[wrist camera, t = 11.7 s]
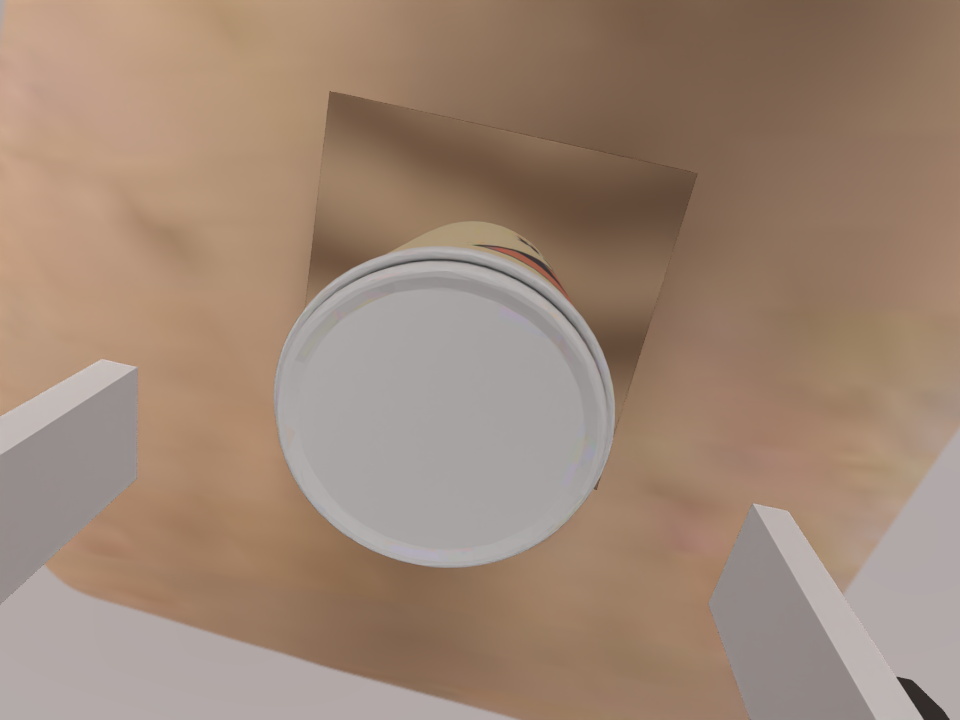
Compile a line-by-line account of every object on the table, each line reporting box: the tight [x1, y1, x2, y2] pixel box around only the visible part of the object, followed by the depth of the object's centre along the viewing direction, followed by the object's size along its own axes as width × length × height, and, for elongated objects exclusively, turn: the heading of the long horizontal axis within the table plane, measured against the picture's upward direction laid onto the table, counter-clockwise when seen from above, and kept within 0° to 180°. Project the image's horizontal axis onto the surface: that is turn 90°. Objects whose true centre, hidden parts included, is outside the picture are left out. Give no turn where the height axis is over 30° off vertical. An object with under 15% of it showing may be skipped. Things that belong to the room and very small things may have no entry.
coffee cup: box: [274, 221, 615, 568], centre depth 22 cm, size 9×9×12 cm
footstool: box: [305, 91, 697, 490], centre depth 30 cm, size 15×15×6 cm
